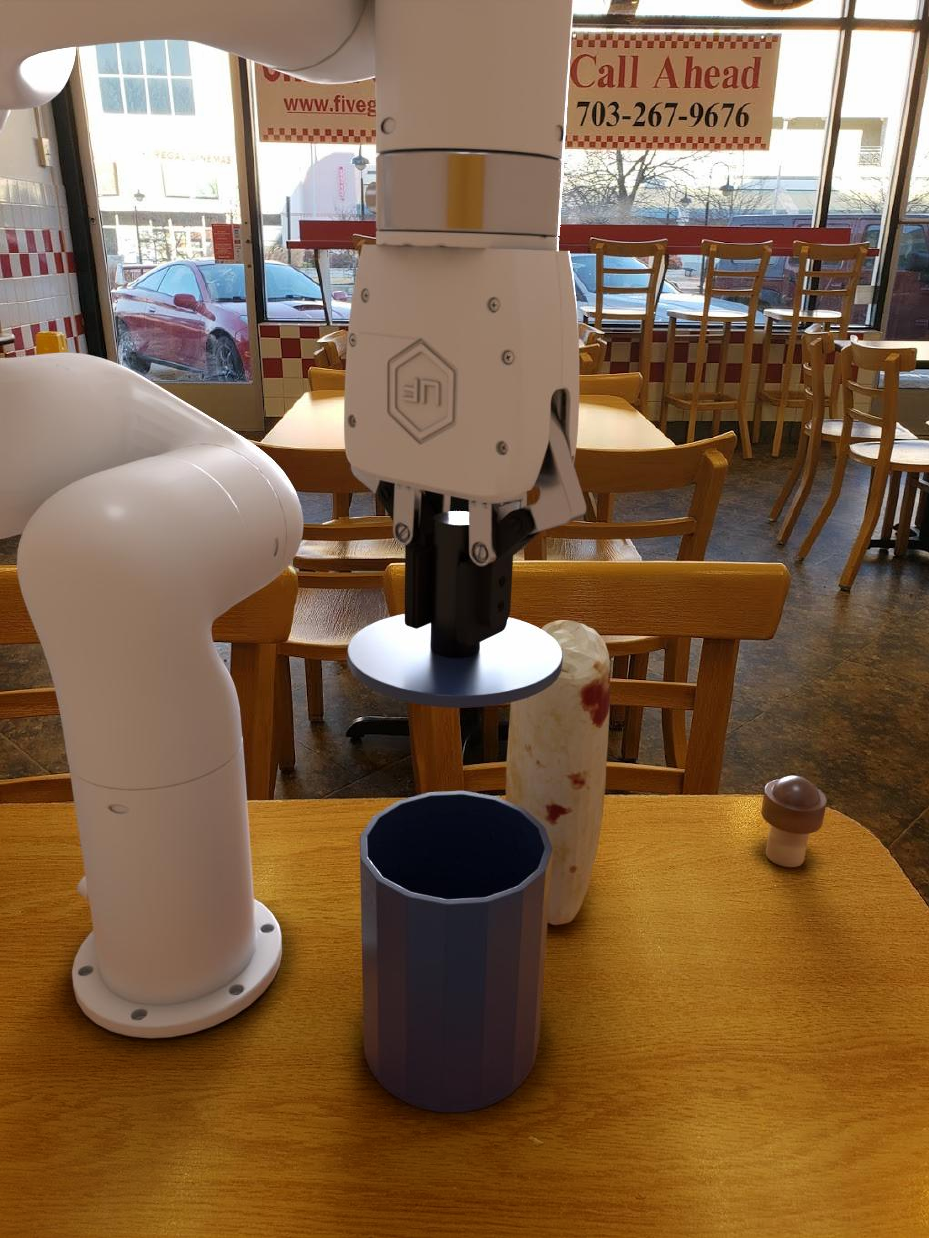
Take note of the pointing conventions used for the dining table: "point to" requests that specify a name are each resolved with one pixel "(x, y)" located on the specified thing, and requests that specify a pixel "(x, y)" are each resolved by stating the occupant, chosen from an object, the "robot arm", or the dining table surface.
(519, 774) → the food model
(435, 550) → the lid
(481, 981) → the pot
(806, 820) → the mushroom
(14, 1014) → the dining table surface
